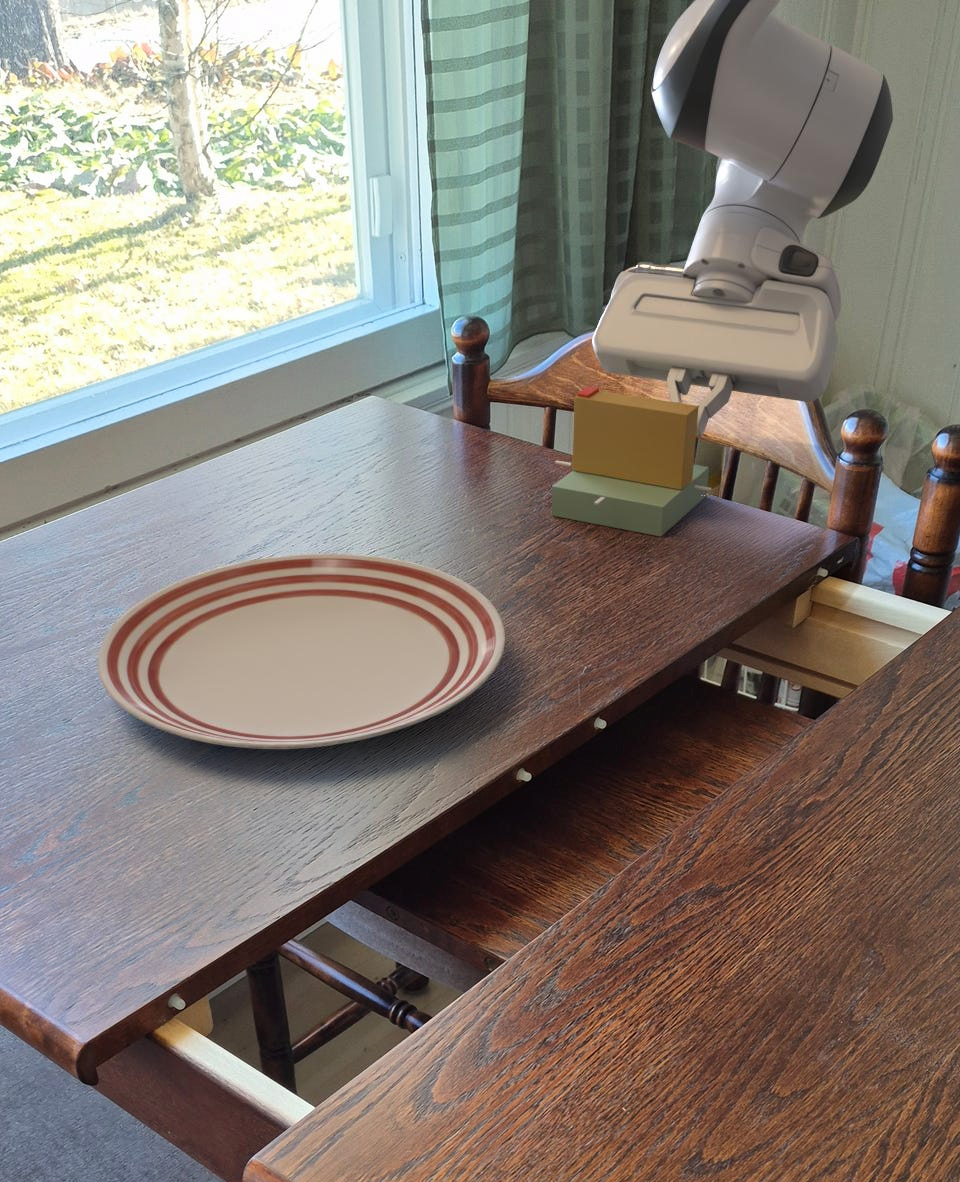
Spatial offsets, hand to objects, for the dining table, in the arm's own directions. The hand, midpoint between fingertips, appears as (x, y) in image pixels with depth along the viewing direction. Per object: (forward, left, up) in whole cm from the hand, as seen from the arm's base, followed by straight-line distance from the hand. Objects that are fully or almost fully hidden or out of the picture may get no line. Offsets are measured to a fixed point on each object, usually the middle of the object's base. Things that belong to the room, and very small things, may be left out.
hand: (683, 430), depth 119 cm
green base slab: (+3, +3, -6) cm, 7 cm away
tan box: (+3, +3, -3) cm, 5 cm away
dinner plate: (+10, +42, -6) cm, 44 cm away
